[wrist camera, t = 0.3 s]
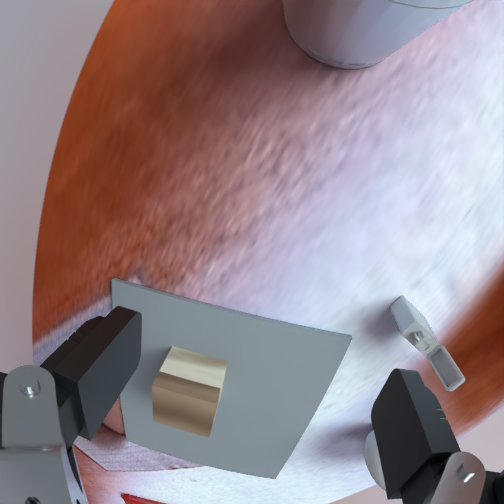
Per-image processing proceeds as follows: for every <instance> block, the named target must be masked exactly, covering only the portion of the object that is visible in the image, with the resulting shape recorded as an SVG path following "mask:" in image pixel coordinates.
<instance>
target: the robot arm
mask: <svg viewBox="0 0 504 504" xmlns="http://www.w3.org/2000/svg"><path fill="white" fill-rule="evenodd" d="M471 1H473V0H283V8H284V19H285V22H286V26H287V29H288V31H289V33H290V35H291V37H292V39H293V40H294V41H295V42H296V43H297V45H298V46H299V47H300V48H301V49H302V50H303V51H305V52H306V53H307V54H308V55H309V56H311V57H313V58H314V59H316V60H318V61H320V62H322V63H324V64H327V65H330V66H333V67H338V68H343V69H360V68H365V67H370V66H372V65H375V64H377V63H379V62H381V61H382V60H383V59H385V58H386V57H388V56H389V55H391V54H392V53H393V52H395V51H397V50H398V49H400V48H401V47H403V46H404V45H405V44H407V43H408V42H410V41H411V40H413V39H414V38H416V37H417V36H418V35H420V34H421V33H423V32H424V31H426V30H427V29H429V28H430V27H432V26H433V25H435V24H436V23H438V22H440V21H441V20H443V19H444V18H446V17H447V16H449V15H450V14H452V13H454V12H455V11H457V10H458V9H460V8H462V7H463V6H465V5H466V4H468V3H470V2H471ZM141 338H142V314H141V313H140V312H138V311H134V310H131V309H128V308H125V307H122V306H116V307H115V308H114V309H113V310H112V311H111V312H110V313H109V314H108V315H107V316H106V317H102V316H98V317H95V318H93V319H90V320H88V321H86V322H85V323H84V324H83V325H82V326H80V327H79V328H78V329H77V330H76V333H75V332H74V333H73V334H72V335H71V336H70V337H69V339H68V340H66V341H65V342H64V343H63V344H62V345H61V346H60V347H58V348H57V349H56V350H55V351H54V352H53V353H52V354H51V355H50V356H49V357H48V358H47V359H46V360H45V361H44V362H43V363H42V364H41V365H40V366H34V365H25V366H21V367H18V368H16V369H14V370H13V371H11V372H10V373H9V374H6V373H2V372H0V504H88V501H87V498H86V495H85V491H84V488H83V484H82V480H81V476H80V473H79V469H78V464H77V460H76V456H75V451H74V447H73V442H74V441H75V439H76V438H77V436H78V435H79V436H81V437H83V438H86V439H88V440H90V441H91V439H92V438H93V436H94V434H95V433H96V431H97V430H98V428H99V427H100V425H101V423H102V422H103V420H104V419H105V417H106V415H107V414H108V412H109V411H110V409H111V408H112V406H113V405H114V403H115V401H116V400H117V398H118V397H119V395H120V394H121V392H122V391H123V389H124V388H125V386H126V384H127V383H128V381H129V380H130V378H131V377H132V375H133V374H134V372H135V371H136V369H137V367H138V364H139V361H140V357H141ZM371 421H372V425H373V429H374V434H375V438H376V443H377V448H378V452H379V457H380V462H381V467H382V472H383V477H384V482H385V487H386V493H387V498H388V499H401V498H402V501H403V504H504V470H503V471H502V472H501V473H498V472H491V471H485V468H484V466H483V464H482V462H481V461H480V460H479V459H478V458H477V457H476V456H474V455H473V454H471V453H468V452H461V450H460V448H459V446H458V443H457V441H456V438H455V436H454V434H453V432H452V429H451V427H450V425H449V423H448V420H446V416H445V414H444V412H443V411H442V408H441V405H440V403H439V401H438V399H437V397H436V396H435V395H434V394H433V393H432V392H431V391H430V390H429V389H428V387H425V385H424V383H423V381H422V379H421V377H420V375H419V373H418V372H417V371H414V370H405V369H397V368H396V369H394V370H393V371H392V372H391V374H390V376H389V377H388V379H387V381H386V383H385V385H384V387H383V388H382V390H381V392H380V394H379V395H378V397H377V399H376V401H375V402H374V405H373V408H372V412H371Z"/></svg>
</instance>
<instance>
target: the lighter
mask: <svg viewBox="0 0 504 504" xmlns="http://www.w3.org/2000/svg"><path fill="white" fill-rule="evenodd" d="M390 310H391V312H392V314H393V316H394V319H395V321H396V323H397V325H398V328H399V330H400V332H401V335H402V336H403V337H405V338H406V339H407V340H408V341H409V342H410V343H411V344H412V345H414V346H415V347H416V348H417V349H418V350H419V351H420V352H421V353H423V354H424V355H427V357H426V358H427V359H428V361H429V363H430V364H431V366H432V367H433V369H434V371H435V372H436V374H437V376H438V377H439V379H440V381H441V382H442V384H443V386H444V387H445V389H446V391H453V390H455V389H456V388H457V387H458V386H460V385H461V384H462V383H463V382H464V381H465V378H464V376H463V374H462V373H461V371H460V370H459V368H458V366H457V365H456V363H455V362H454V360H453V359H452V357H451V356H450V354H449V353H448V351H447V350H446V348H445V347H444V346H442V345H439V341H438V340H437V338H436V336H435V334H434V332H433V331H432V329H431V327H430V325H429V323H428V322H427V320H426V318H425V317H424V316H423V315H422V314H421V313H420V312H419V311H418V310H417V309H416V308H415V307H414V306H413V305H412V304H411V303H410V302H409V301H408V300H407V299H406V298H405V297H404V296H400V297H399V298H398V299H397V300H396V301H395V302H394V303H393V304H392V305H391V306H390Z"/></svg>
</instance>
